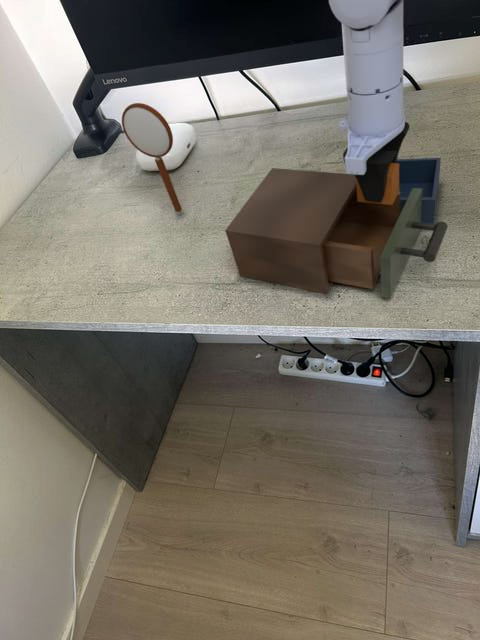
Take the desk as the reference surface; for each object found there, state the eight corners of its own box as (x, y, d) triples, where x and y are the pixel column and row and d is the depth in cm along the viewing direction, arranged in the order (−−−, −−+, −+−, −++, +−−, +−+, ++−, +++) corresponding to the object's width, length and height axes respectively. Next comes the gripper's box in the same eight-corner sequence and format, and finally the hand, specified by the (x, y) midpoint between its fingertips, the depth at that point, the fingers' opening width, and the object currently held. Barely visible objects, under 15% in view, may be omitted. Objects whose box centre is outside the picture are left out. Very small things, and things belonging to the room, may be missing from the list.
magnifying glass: (158, 215, 87) (110, 106, 72) (163, 209, 88) (116, 101, 73) (198, 220, 83) (156, 106, 69) (203, 213, 84) (163, 100, 69)
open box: (384, 184, 77) (384, 159, 74) (438, 183, 74) (440, 157, 71) (375, 225, 71) (374, 199, 68) (433, 226, 68) (435, 199, 65)
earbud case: (204, 140, 101) (196, 115, 97) (180, 176, 94) (170, 151, 90) (162, 142, 105) (153, 118, 101) (135, 177, 98) (125, 153, 94)
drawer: (452, 234, 65) (456, 191, 60) (424, 305, 59) (427, 264, 54) (334, 219, 73) (330, 180, 68) (298, 280, 66) (291, 242, 61)
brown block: (399, 191, 61) (399, 163, 58) (392, 205, 59) (392, 176, 56) (364, 188, 63) (363, 161, 60) (357, 201, 61) (355, 174, 59)
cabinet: (364, 225, 72) (361, 174, 66) (327, 294, 65) (320, 245, 58) (282, 214, 78) (272, 167, 72) (240, 276, 71) (224, 230, 65)
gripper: (360, 52, 56) (365, 157, 66) (311, 117, 49) (326, 224, 59) (423, 49, 53) (419, 160, 63) (381, 118, 46) (384, 232, 55)
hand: (378, 191), depth 61 cm, fingers closed on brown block, 3 cm apart
